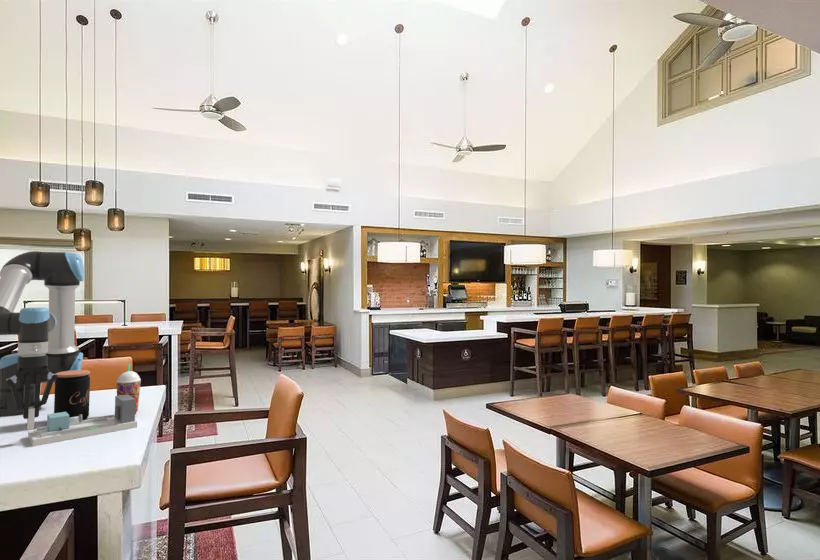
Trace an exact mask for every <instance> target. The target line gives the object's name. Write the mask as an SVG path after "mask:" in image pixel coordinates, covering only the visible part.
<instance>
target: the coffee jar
mask: <svg viewBox="0 0 820 560" xmlns="http://www.w3.org/2000/svg"><path fill="white" fill-rule="evenodd" d="M56 375H57V379H56V380H55V382H54V401H53V405H54V406H53V413H60V412H67V413H68V415H69V418H70V417H77V416H79V415H80V414H82V420H85V419H86V420H88V417H89V416H90V397H91V396H90V393H91V392H90V391H91V388H90V387H91V377H90V375H91V371H90V370H88V369H81V370H72V371H64V372H58V373H56ZM75 422H76V421H75ZM69 423H70V422H69Z"/></svg>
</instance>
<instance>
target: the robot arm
mask: <svg viewBox="0 0 820 560" xmlns="http://www.w3.org/2000/svg"><path fill="white" fill-rule="evenodd" d="M32 281H44V282H43V285H44V287H46V288H47V290H48V307H23V308H21V309H20V311H19V312H14V311H15V309H16V307H17V304H18V302H19V300H20V299H21V296H22V294H23V292H24V289H25V287H26V285H28V284H29V283H30V282H32ZM84 281H85V268H84V263H83V259H82V257H81V255H80V254H79V253H73V252H67V251H66V252H64V251H63V252H62V251H35V250H34V251H28V252H23V253H21V254H18V255H16V256H14V257H13V258H11V259H9V260H8V261H7V262H6V263H4V265H3V266H2V267H1V269H0V336H7V335H8V336H12V335H13V336H15V335H16V336H17V335H18V344H17V353H16V352H15V353H11V354H7V355H4V356H3V357H1V358H0V417H1V416H3V417H5V416H16V415H17V416H18V415H22V417H23V419H24V420H27V421H26V428H27V430H35V418H38V417H39V416H40V410H41V409H42V406H44V405H46V404H47V402H48V400H49V396H50V394H51V390H52V388H53V384H54V383H55V380H56V379H57V375H56V373H58V372H64V371H72V370H82V366H83V359H84V353H83V352H80V351H79V350H80V349H79V347H78V346H76V345H75V333H76V332H75V330H76V328H75V326H76V324H75V323H76V321H75V320H76V319H75V317H76V315H75V314H76V312H75V311H76V289H77V288H78V287H79V286H80V282H84ZM41 384H46V385H45V387H44V391H43V394H42V397H41V398H40V396H41V394H40V393H41Z"/></svg>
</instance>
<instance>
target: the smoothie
mask: <svg viewBox="0 0 820 560" xmlns="http://www.w3.org/2000/svg"><path fill="white" fill-rule="evenodd" d="M127 366H128V368H127V371H124V372H123V373H121V374H119V376H118V377H117V380H115V382H116V396H120V395H127V394H128V395H129V396H131V397H133V398H134V399H135V415H136V414H137V412H138V411H139V405H140V403H139V402H140V391H141V383H142V382H141V381H142V379H141V377H140V375H139V374H138V373H137V372H135V371H133V370H131V364H130V363H128V364H127Z"/></svg>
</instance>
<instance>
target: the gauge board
mask: <svg viewBox="0 0 820 560" xmlns="http://www.w3.org/2000/svg"><path fill="white" fill-rule="evenodd" d="M133 427H135V428H138V421H137V420H136V414H135V399H134V398H133V397H131V396H129V395H128V394H127V395H120V396H117V395H115V399H114V417H108V416H101V417H95V418H89V419H88V418H87V419H86V420H82V422H79V421H76V422H70V423H69V429H65V430H62V431H60V430H59V431H53V432H48V430H47V425H46V426H39V427H36V429H32V430H29V431H28V432H27V438H28V440H29V442H30V443H32V444H31V446H32V447H35V446H36V445H37V446H41V445H47V444H52V443H58V442H63V441H69V440H73V439H74V440H75V439H80V438H79V437H81V438H85V437H90V436H91V435H92V436H97V435H102V434H107V433H112V432H113V431H114V432H117V431H118V430H119V431H123V429H124V430H129V429H128V428H130V429H134V428H133ZM92 436H91V437H92ZM37 446H36V447H37Z"/></svg>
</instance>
